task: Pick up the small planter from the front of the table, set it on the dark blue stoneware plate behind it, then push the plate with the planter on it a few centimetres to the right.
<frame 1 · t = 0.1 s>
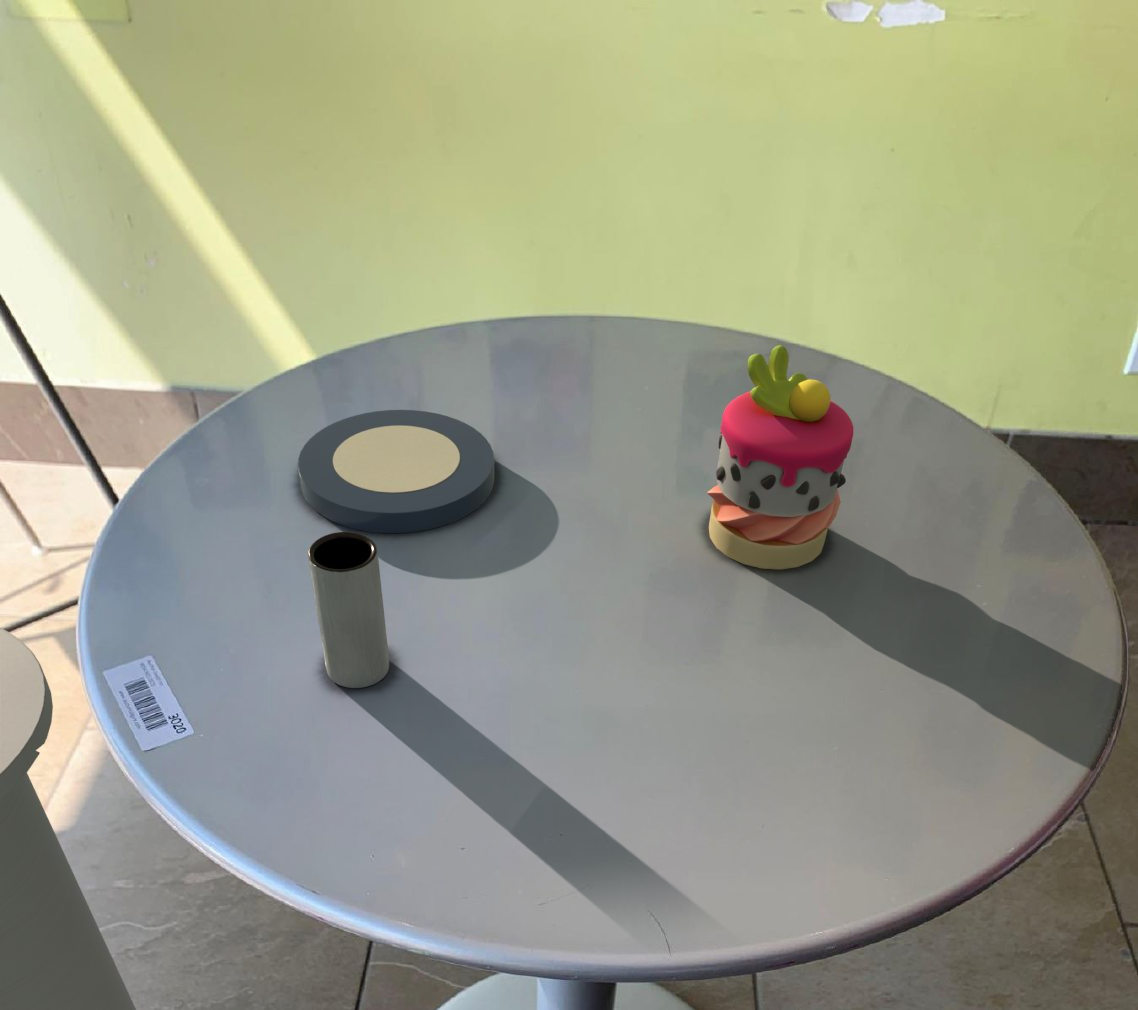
cake: (765, 537, 94), on the table
plate: (398, 478, 98), on the table
planter: (358, 670, 81), on the table
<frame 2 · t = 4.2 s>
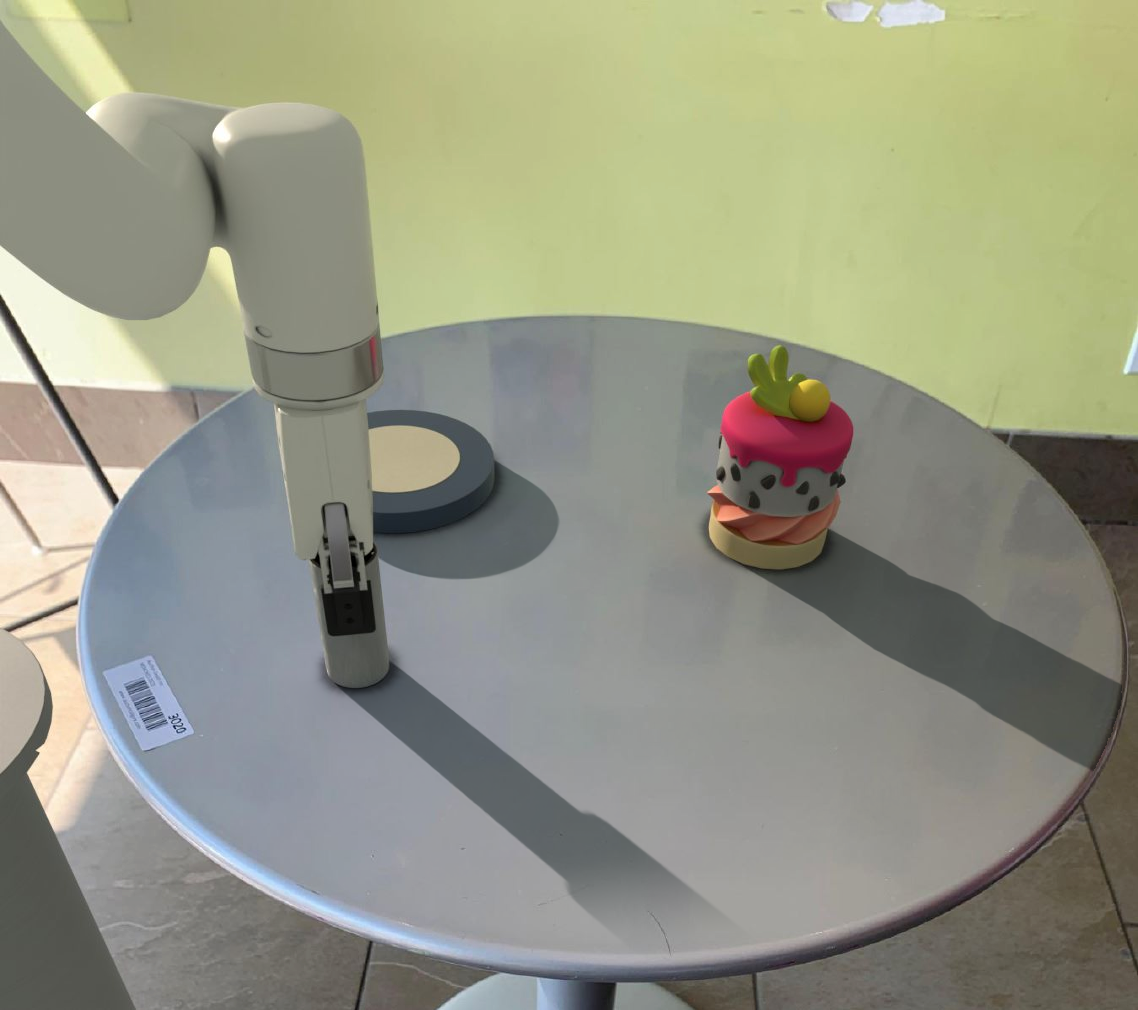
hand: (349, 605, 76), 6 cm above the table, tool pointing down, fingers closed on planter, 4 cm apart
planter: (358, 670, 81), on the table, touching gripper
everything else where it was.
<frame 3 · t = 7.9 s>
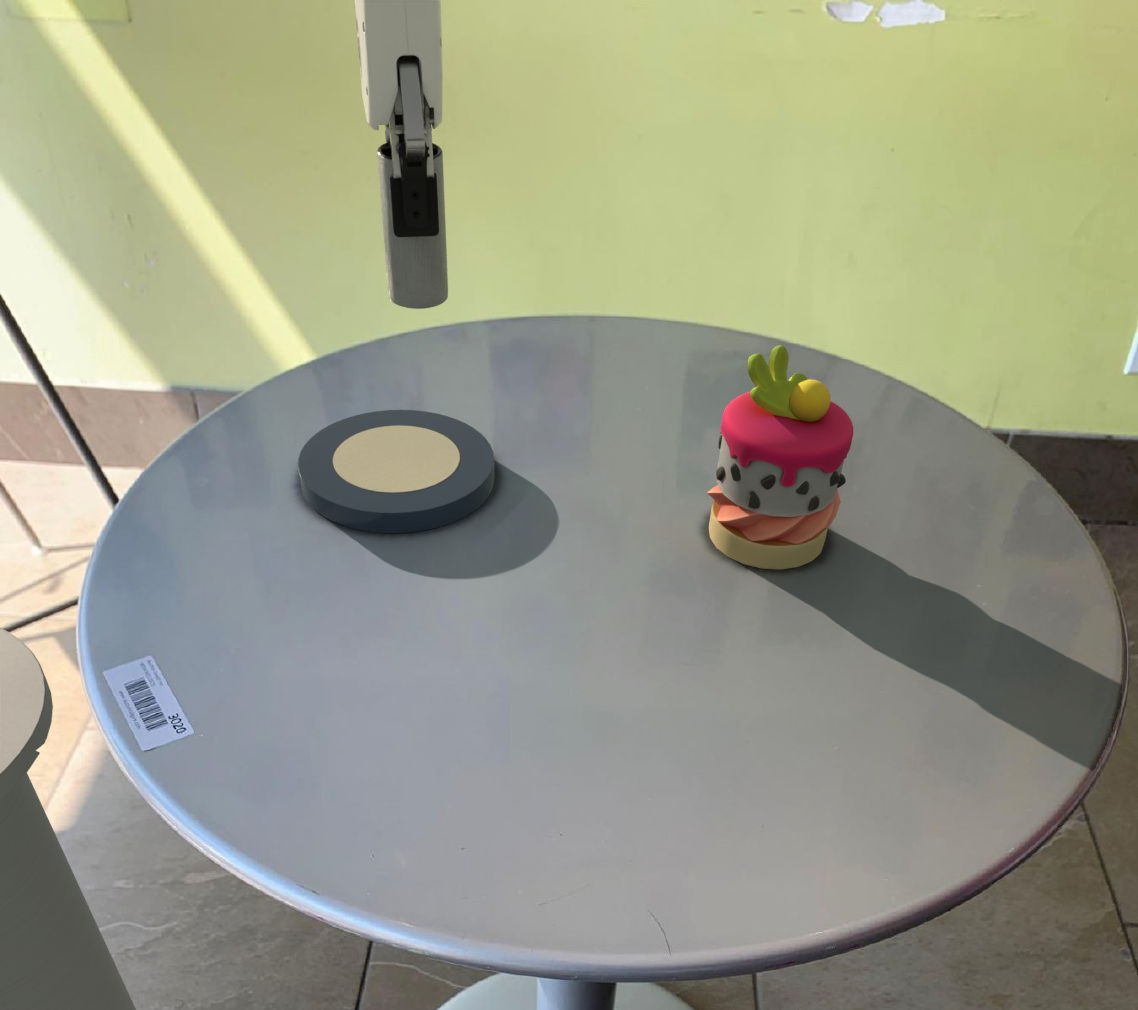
hand: (412, 218, 80), 23 cm above the table, tool pointing down, fingers closed on planter, 4 cm apart
planter: (418, 299, 85), point 17 cm above the table, touching gripper
everything else where it was.
when the fingers open (8 cm above the table, at t = 11.8 s): planter stays where it is, resting on plate.
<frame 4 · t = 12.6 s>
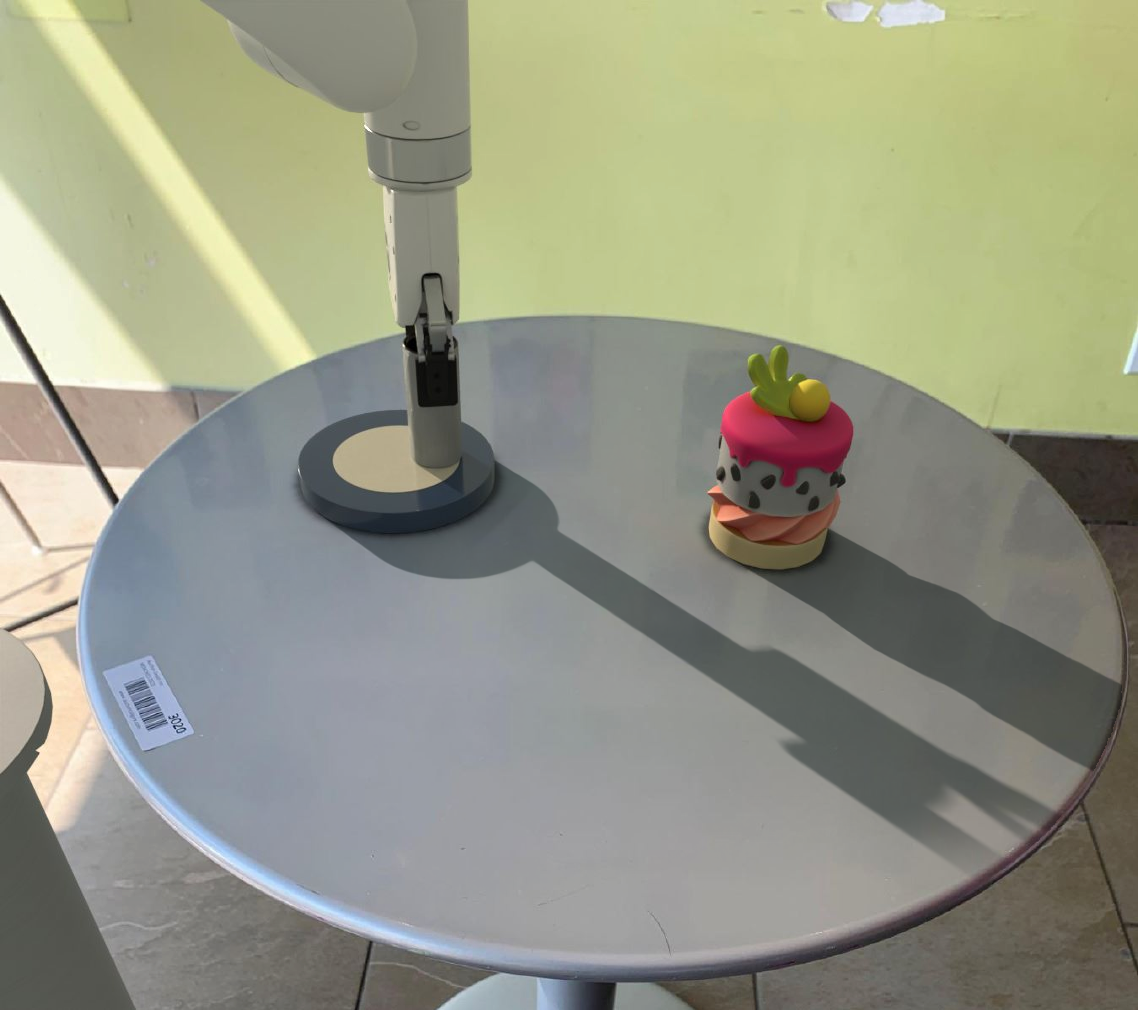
hand: (431, 376, 92), 9 cm above the table, tool pointing down, fingers open, 9 cm apart
plate: (398, 478, 98), on the table, touching planter
planter: (436, 457, 97), point 2 cm above the table, touching plate
everything else where it was.
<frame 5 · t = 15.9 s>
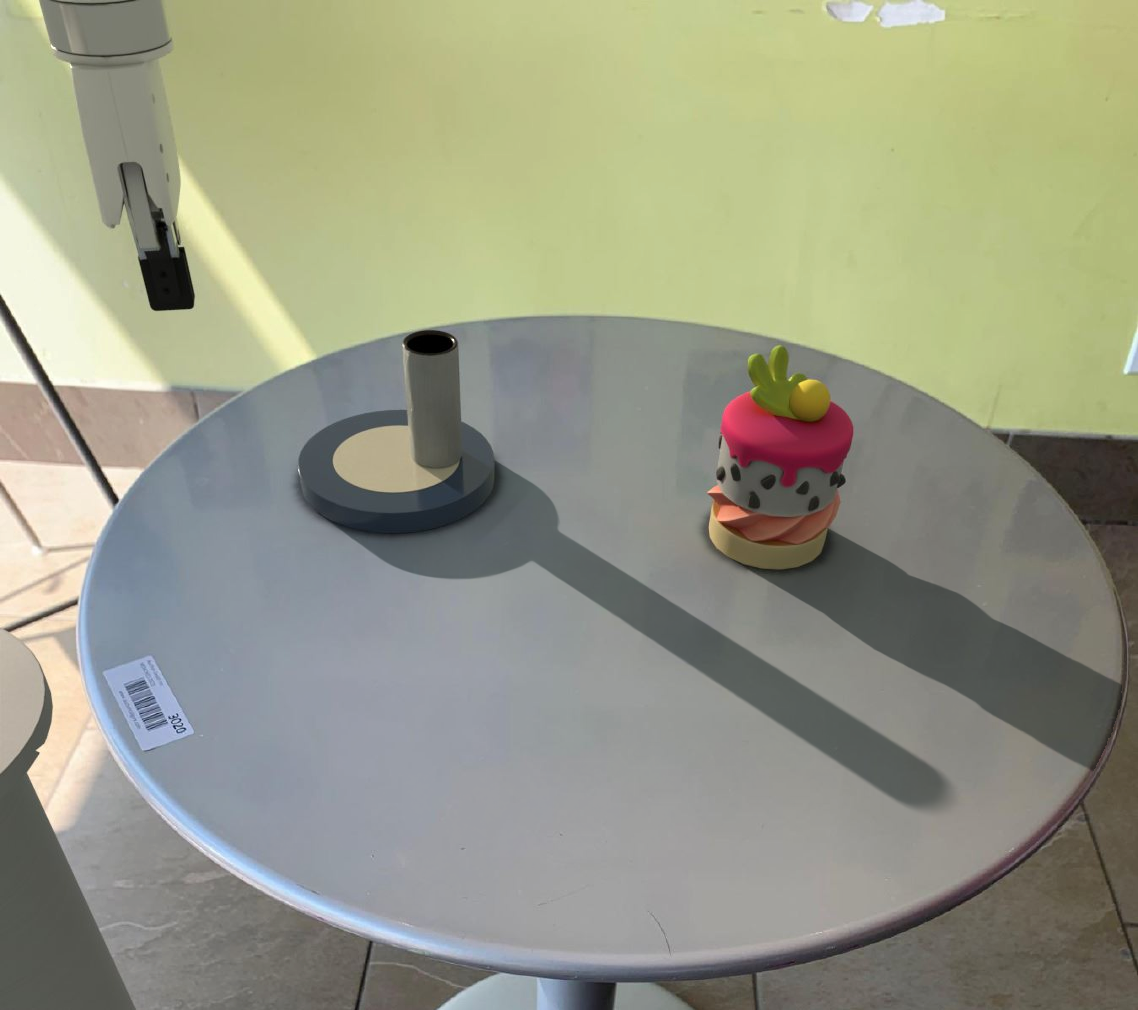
hand: (173, 305, 84), 16 cm above the table, tool pointing down, fingers closed
nothing on the table moved.
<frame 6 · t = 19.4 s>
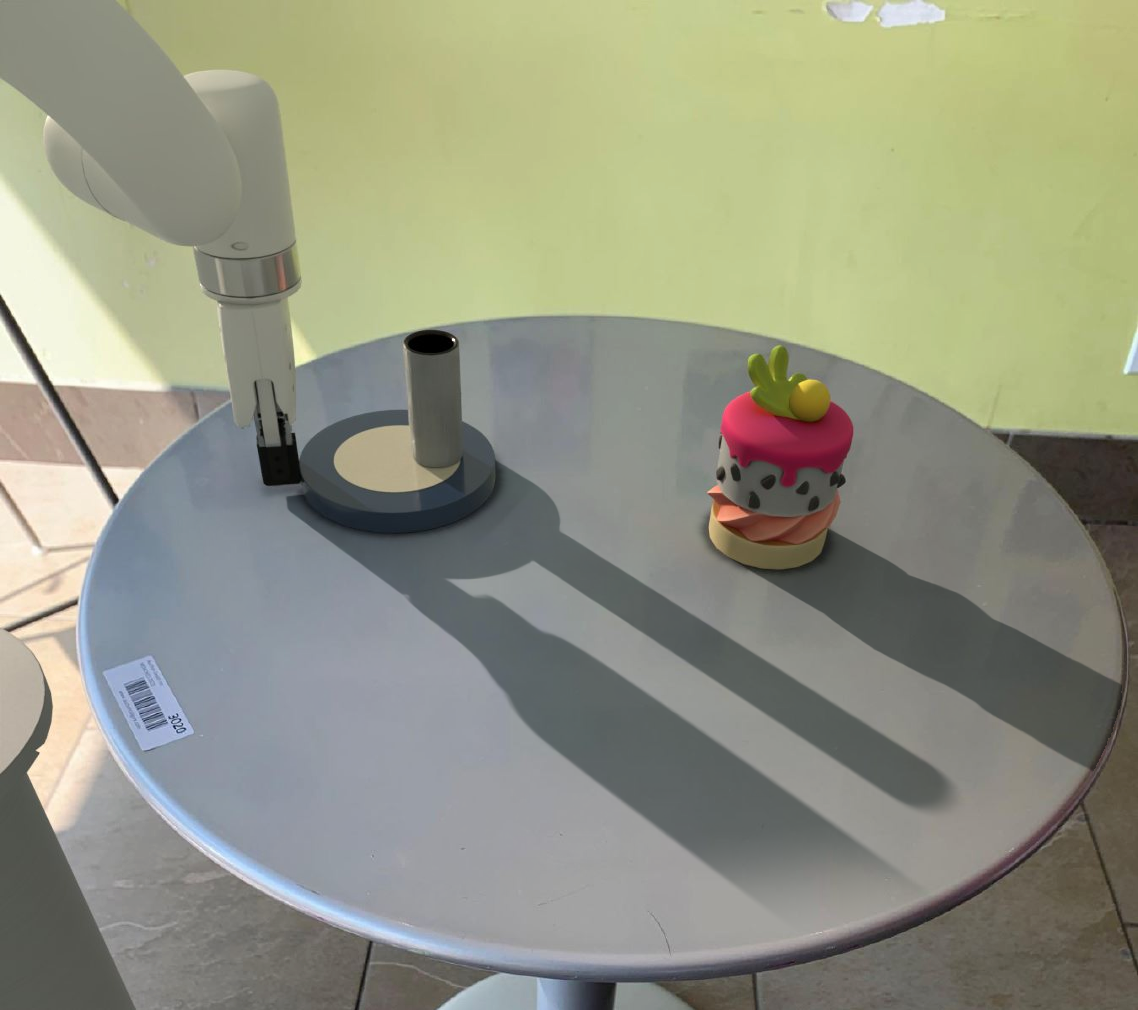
hand: (282, 479, 96), 1 cm above the table, tool pointing down, fingers closed
plate: (399, 478, 98), on the table, touching gripper, planter
everything else where it was.
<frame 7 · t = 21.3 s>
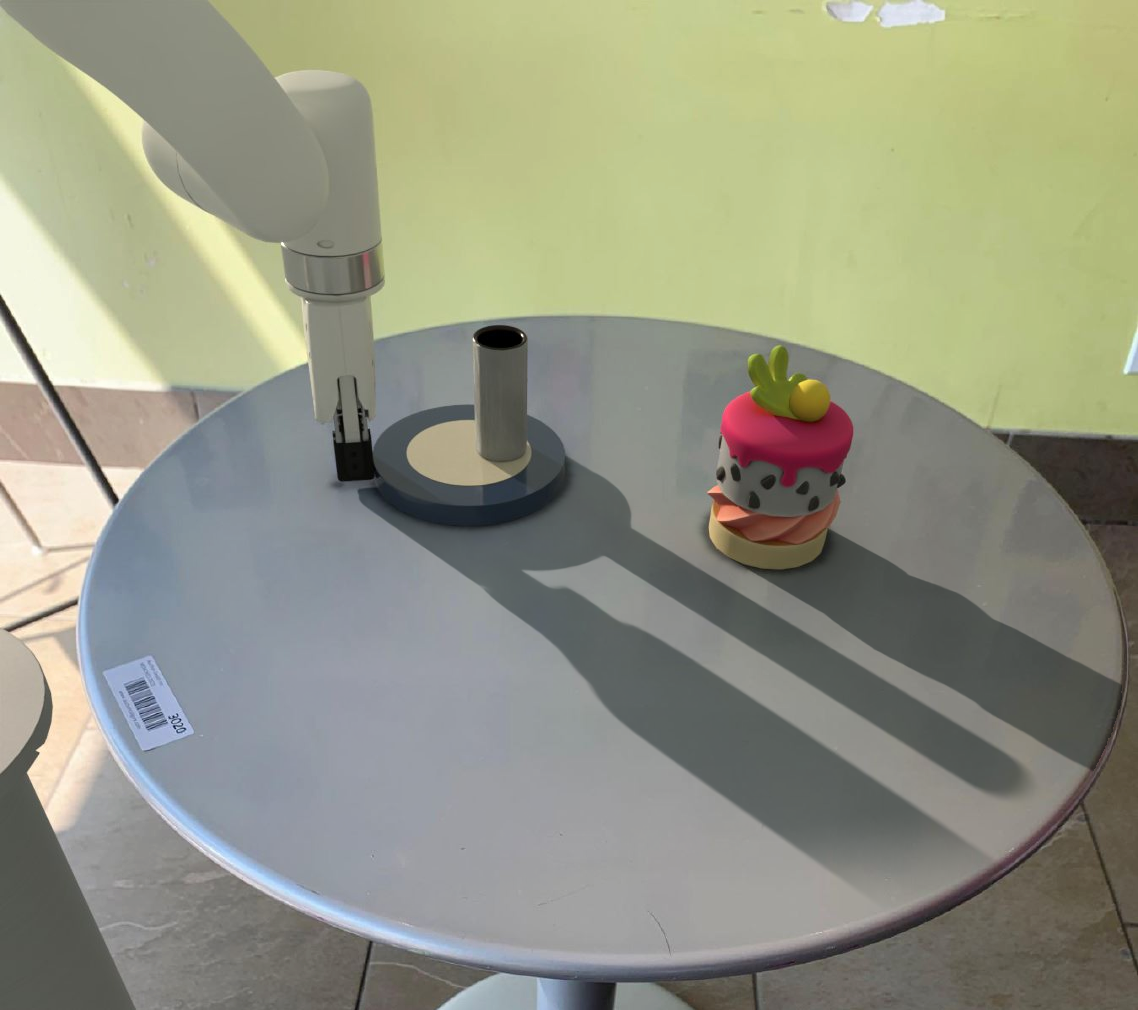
hand: (355, 475, 97), 1 cm above the table, tool pointing down, fingers closed
plate: (470, 471, 99), on the table, touching gripper, planter
planter: (501, 450, 99), point 2 cm above the table, touching plate
everything else where it was.
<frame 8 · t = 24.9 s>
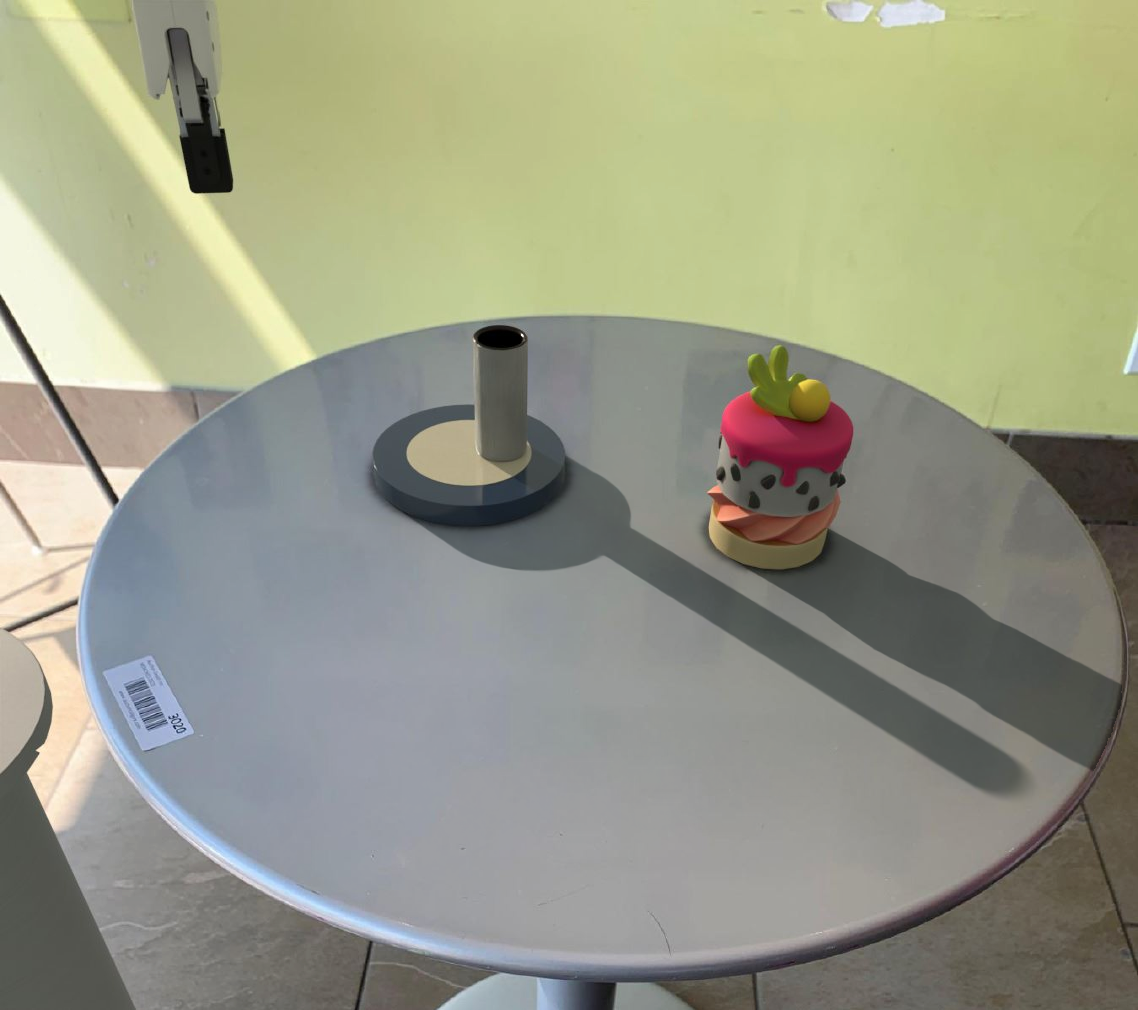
hand: (212, 188, 85), 22 cm above the table, tool pointing down, fingers closed
plate: (470, 471, 99), on the table, touching planter
everything else where it was.
at the end: plate inside the target area (1.6 cm from its centre), on the table; planter inside the target area on the plate (2.9 cm from its centre), point 1.9 cm above the plate's base; planter tilted 0° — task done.
